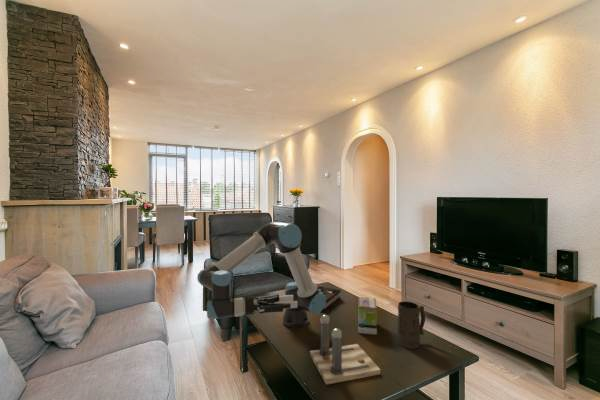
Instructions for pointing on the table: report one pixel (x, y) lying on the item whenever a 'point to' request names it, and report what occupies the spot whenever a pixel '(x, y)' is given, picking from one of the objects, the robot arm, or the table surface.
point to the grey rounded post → (336, 351)
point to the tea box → (367, 316)
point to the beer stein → (410, 324)
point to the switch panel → (345, 364)
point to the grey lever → (324, 335)
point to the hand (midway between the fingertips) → (294, 300)
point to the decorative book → (329, 296)
